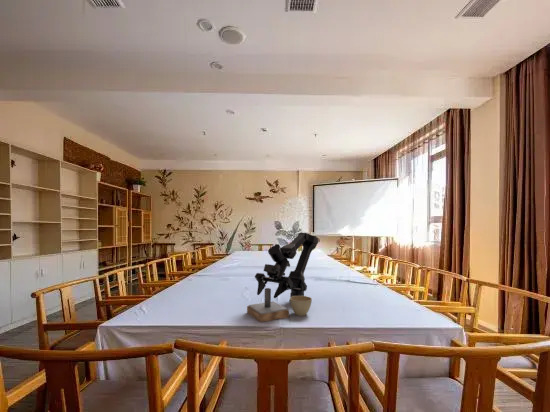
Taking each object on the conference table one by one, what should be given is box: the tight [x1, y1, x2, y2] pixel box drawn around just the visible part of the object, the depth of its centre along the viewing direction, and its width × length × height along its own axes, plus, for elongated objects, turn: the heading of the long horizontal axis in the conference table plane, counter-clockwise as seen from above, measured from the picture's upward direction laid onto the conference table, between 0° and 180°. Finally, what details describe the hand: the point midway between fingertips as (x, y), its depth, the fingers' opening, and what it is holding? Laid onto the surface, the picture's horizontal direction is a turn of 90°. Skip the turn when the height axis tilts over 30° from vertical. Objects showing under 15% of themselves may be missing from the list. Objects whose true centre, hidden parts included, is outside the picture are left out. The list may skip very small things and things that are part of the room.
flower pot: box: [289, 295, 312, 317], centre depth 132 cm, size 10×10×7 cm
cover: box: [248, 287, 288, 314], centre depth 131 cm, size 13×13×9 cm
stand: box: [246, 305, 290, 323], centre depth 130 cm, size 14×14×3 cm
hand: (265, 296), depth 130 cm, fingers open, 9 cm apart
